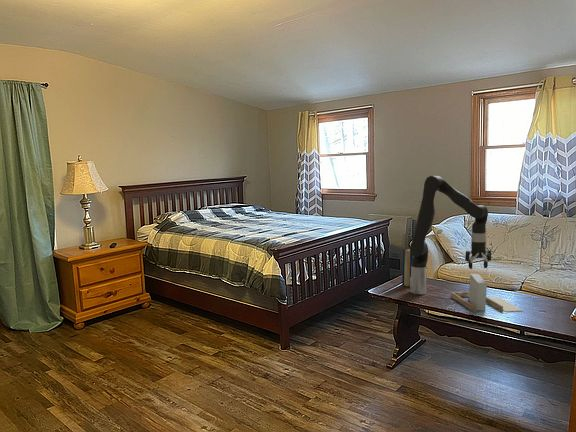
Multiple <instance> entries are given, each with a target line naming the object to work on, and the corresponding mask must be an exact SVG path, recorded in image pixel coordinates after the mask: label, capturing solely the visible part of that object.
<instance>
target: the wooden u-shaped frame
mask: <svg viewBox="0 0 576 432" xmlns="http://www.w3.org/2000/svg"><path fill="white" fill-rule="evenodd" d="M450 297H451V298H452V299H454V300H455V301H456V302H458V303H459V304H461V305H462V306H464V307H465V308H467V309H468V310H470V311H471V312H473V313H474V314H477V313H478V310H477V307H475V306H474V305H472V303H471V302H470V301H468V300H466V299H465V298H467V297H468V298H469V290H468V291H451V293H450ZM486 304H488V305H490V306H491V307H493V308H495V309H496V310H498V311H500V312H501V313H502V312H504V311H503V306H502V305H500V304H498V303H497V302H495V301H493V300H491V299H490V297H488V296H486Z"/></svg>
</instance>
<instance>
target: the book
mask: <svg viewBox="0 0 576 432" xmlns="http://www.w3.org/2000/svg"><path fill="white" fill-rule="evenodd" d="M412 260H413V255H412V254H411V253H410V247H408V248H404V249H403V250H402V274H401V275H402V277H401V281H402V282H401V285H402V286H404V287H410V277H411V262H412Z"/></svg>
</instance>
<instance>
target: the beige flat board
mask: <svg viewBox="0 0 576 432" xmlns="http://www.w3.org/2000/svg"><path fill="white" fill-rule="evenodd" d="M489 298H490V299H491V300H493V301H495V302H497V303H498V304H500V305H502V306H503V312H505V313H511V312H515V313H517V312H523V311H524V310H523V308H520V307H518V306H516V305H514V304H513V303H510V301H508V300H505V299H504V298H502V297H501V296H496V297H495V296H494V297H490V296H489Z"/></svg>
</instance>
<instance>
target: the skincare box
mask: <svg viewBox="0 0 576 432" xmlns="http://www.w3.org/2000/svg"><path fill="white" fill-rule="evenodd" d="M487 287H488V283H487V281H485V280H484V278H482V276H481V275H480V274H478V273H469V289H468V291H469V297H468V300H469V303H470V304H472V305H474V306H475V307H477V311H480V312H481V311H482V312H484V311H486V305H487V303H486V297H487Z"/></svg>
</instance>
